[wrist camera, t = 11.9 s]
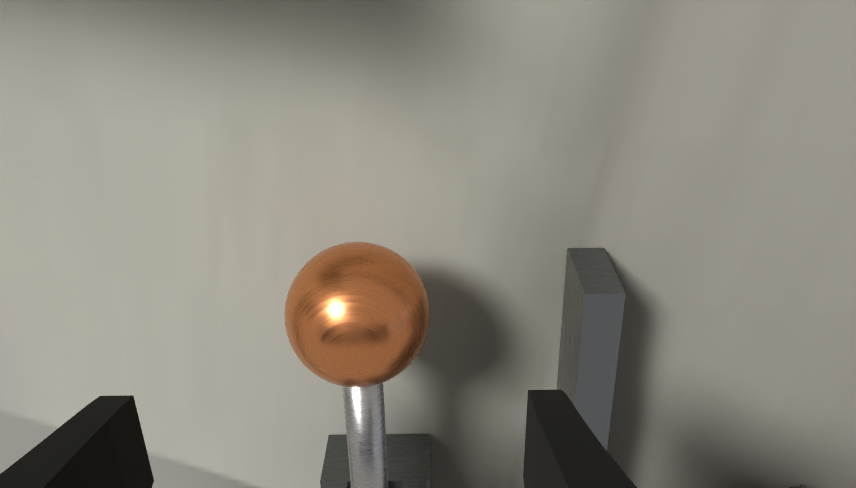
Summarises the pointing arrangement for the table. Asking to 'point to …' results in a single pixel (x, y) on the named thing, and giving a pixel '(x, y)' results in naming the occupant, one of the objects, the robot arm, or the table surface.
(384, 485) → the lever
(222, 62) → the table surface
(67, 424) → the robot arm
